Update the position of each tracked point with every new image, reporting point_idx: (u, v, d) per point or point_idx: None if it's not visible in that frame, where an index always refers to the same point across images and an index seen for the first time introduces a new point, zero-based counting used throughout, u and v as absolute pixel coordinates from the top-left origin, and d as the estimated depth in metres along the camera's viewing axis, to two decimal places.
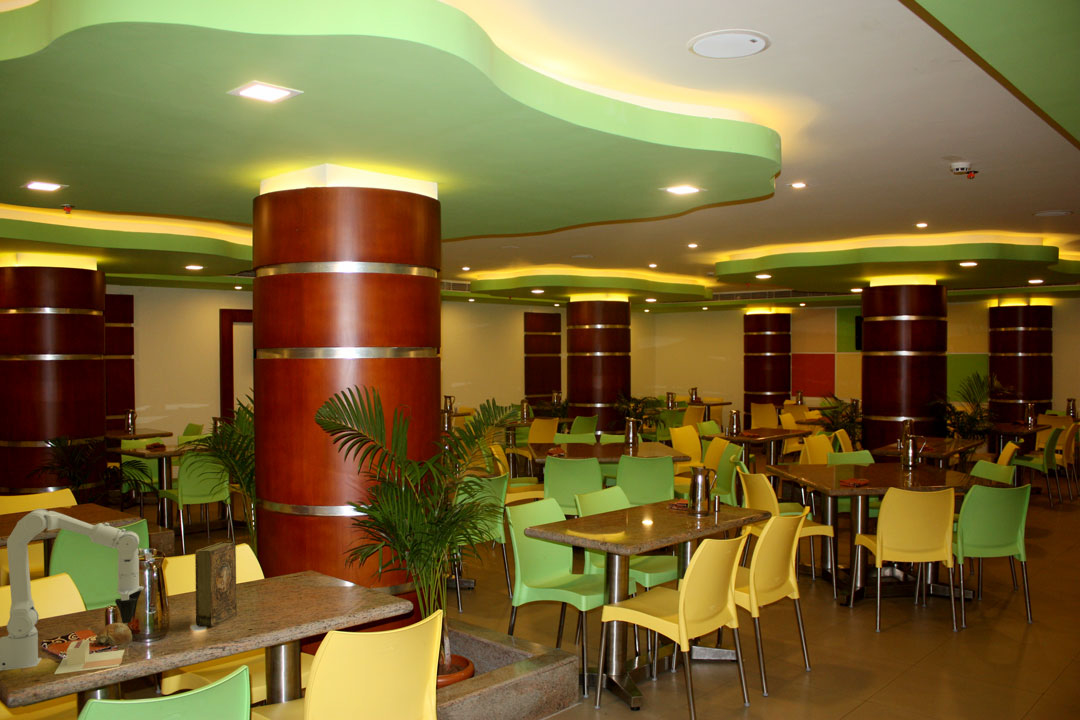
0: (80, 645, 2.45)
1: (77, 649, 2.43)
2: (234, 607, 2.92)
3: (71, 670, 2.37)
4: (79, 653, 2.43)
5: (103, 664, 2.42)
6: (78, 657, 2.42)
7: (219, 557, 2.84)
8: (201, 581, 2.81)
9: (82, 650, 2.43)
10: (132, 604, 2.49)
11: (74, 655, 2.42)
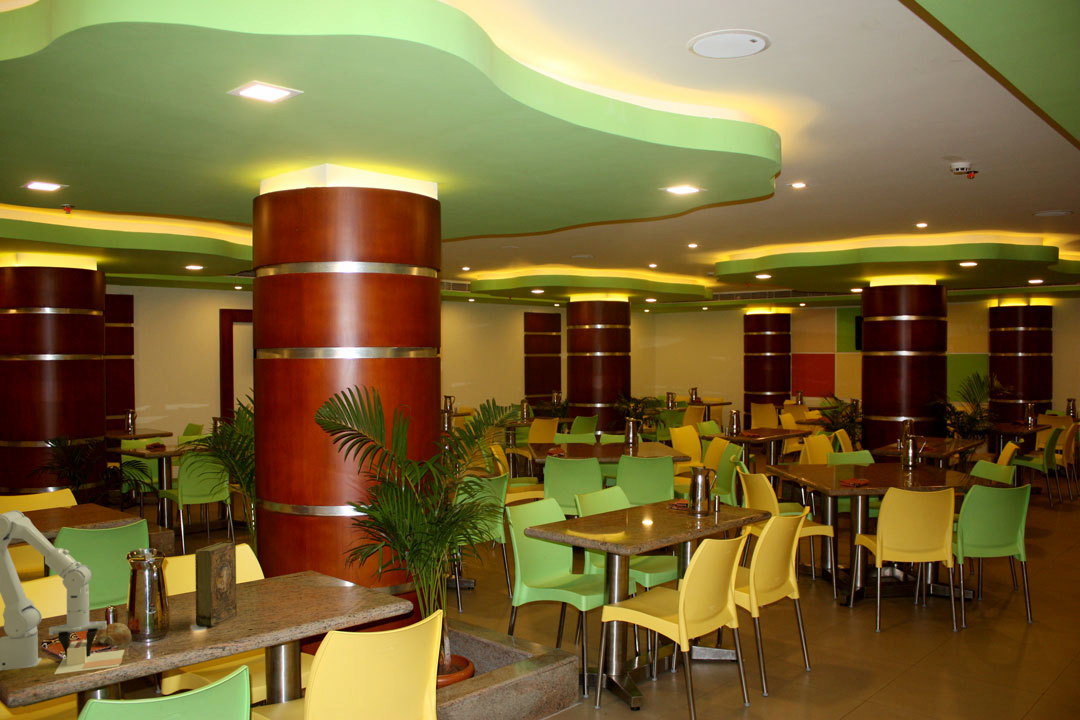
0: (80, 645, 2.45)
1: (77, 649, 2.43)
2: (234, 607, 2.92)
3: (71, 670, 2.37)
4: (79, 653, 2.43)
5: (103, 664, 2.42)
6: (78, 657, 2.42)
7: (219, 557, 2.84)
8: (201, 581, 2.81)
9: (82, 650, 2.43)
10: None
11: (74, 655, 2.42)
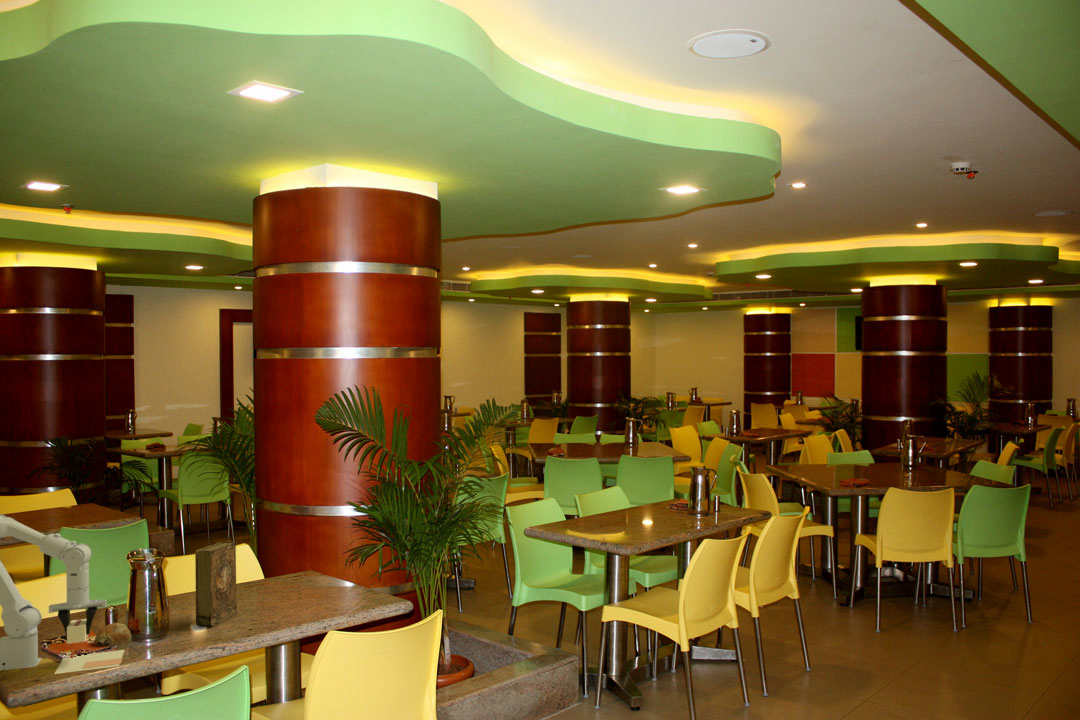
0: (80, 623, 2.45)
1: (77, 627, 2.43)
2: (234, 607, 2.92)
3: (71, 670, 2.37)
4: (79, 631, 2.43)
5: (103, 664, 2.42)
6: (78, 635, 2.43)
7: (219, 557, 2.84)
8: (201, 581, 2.81)
9: (82, 628, 2.43)
10: None
11: (74, 633, 2.42)
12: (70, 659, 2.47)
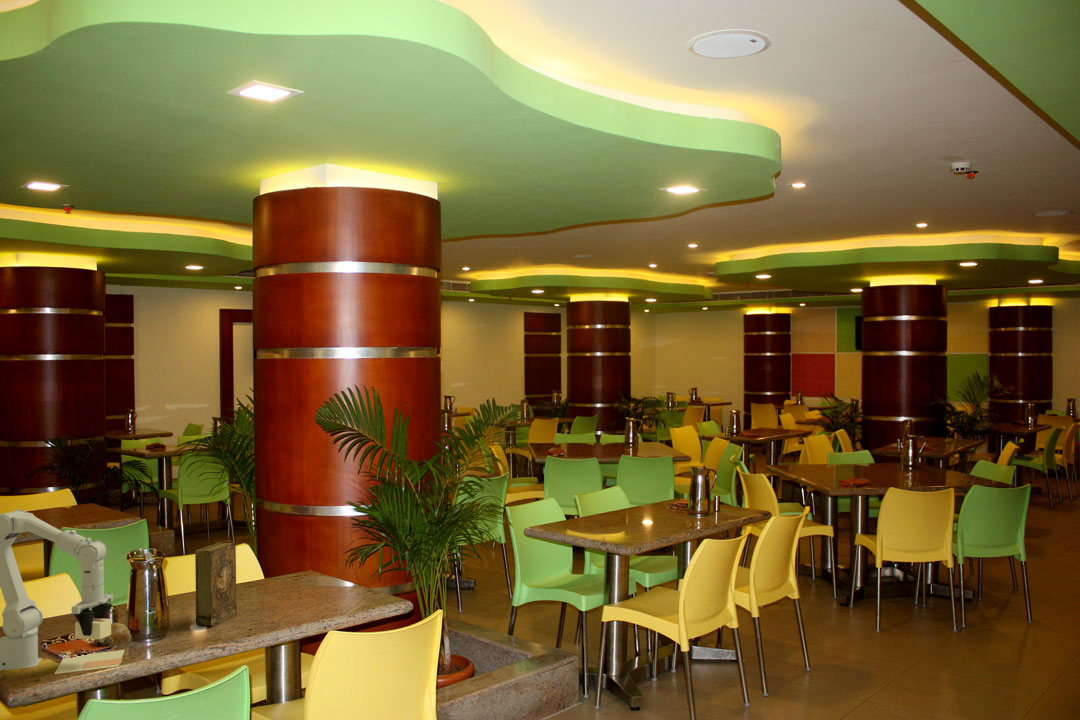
0: (98, 619, 2.45)
1: (106, 621, 2.44)
2: (234, 607, 2.92)
3: (71, 670, 2.37)
4: (107, 625, 2.44)
5: (103, 664, 2.42)
6: (107, 629, 2.44)
7: (219, 557, 2.84)
8: (201, 581, 2.81)
9: (109, 621, 2.45)
10: (87, 617, 2.40)
11: (104, 628, 2.43)
12: (70, 659, 2.47)
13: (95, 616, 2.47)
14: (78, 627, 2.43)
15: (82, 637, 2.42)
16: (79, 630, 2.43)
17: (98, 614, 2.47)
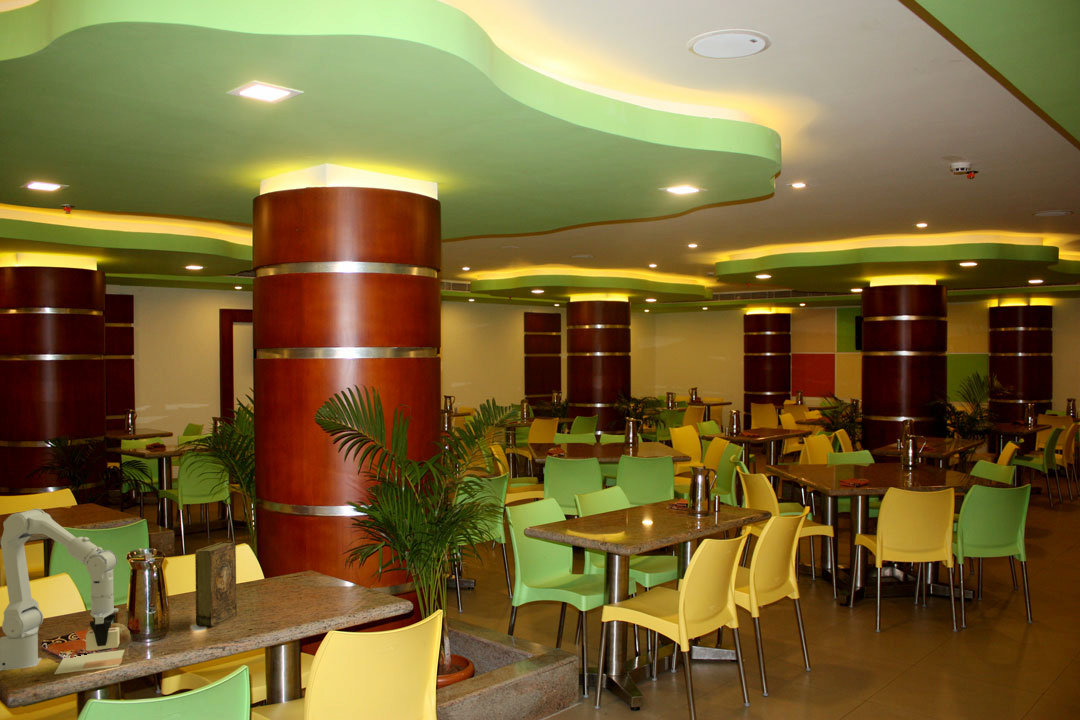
0: None
1: (118, 629, 2.45)
2: (234, 607, 2.92)
3: (71, 670, 2.37)
4: (118, 633, 2.45)
5: (103, 664, 2.42)
6: (118, 637, 2.45)
7: (219, 557, 2.84)
8: (201, 581, 2.81)
9: None
10: (107, 626, 2.40)
11: (118, 636, 2.44)
12: (70, 659, 2.47)
13: None
14: (89, 639, 2.40)
15: (95, 648, 2.40)
16: (91, 642, 2.40)
17: None
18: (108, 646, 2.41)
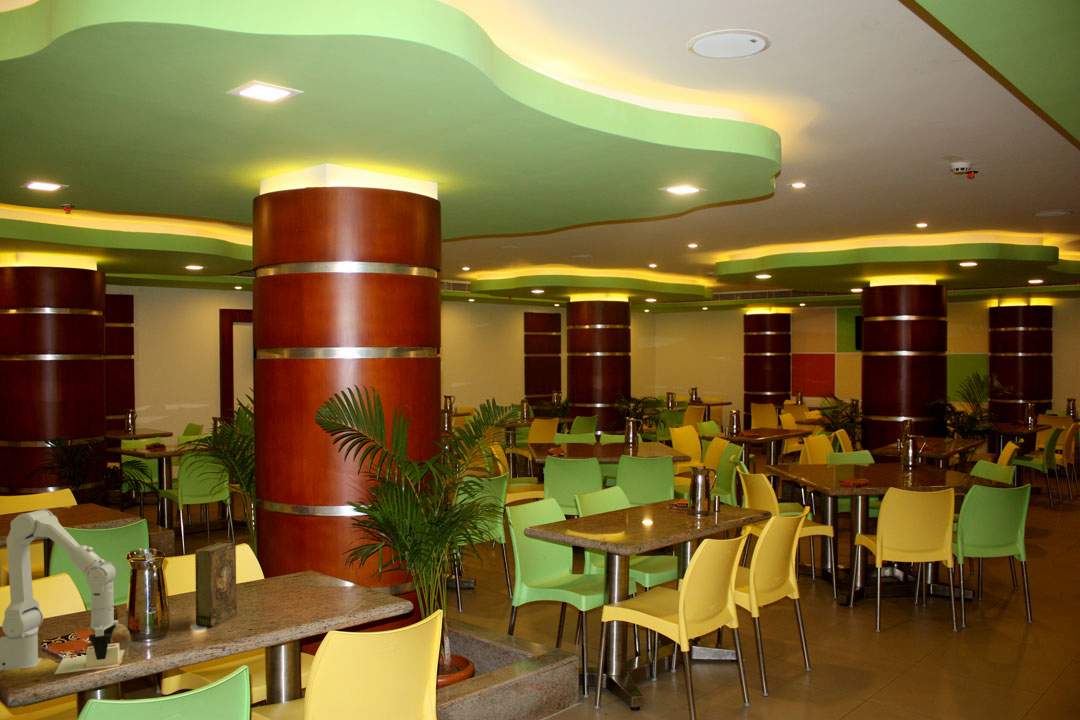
0: (108, 645, 2.44)
1: (118, 645, 2.45)
2: (234, 607, 2.92)
3: (71, 670, 2.37)
4: (118, 649, 2.45)
5: None
6: (118, 653, 2.45)
7: (219, 557, 2.84)
8: (201, 581, 2.81)
9: None
10: (107, 640, 2.38)
11: (118, 652, 2.44)
12: (70, 659, 2.47)
13: None
14: (89, 655, 2.40)
15: (95, 664, 2.40)
16: (91, 658, 2.40)
17: None
18: (108, 662, 2.41)
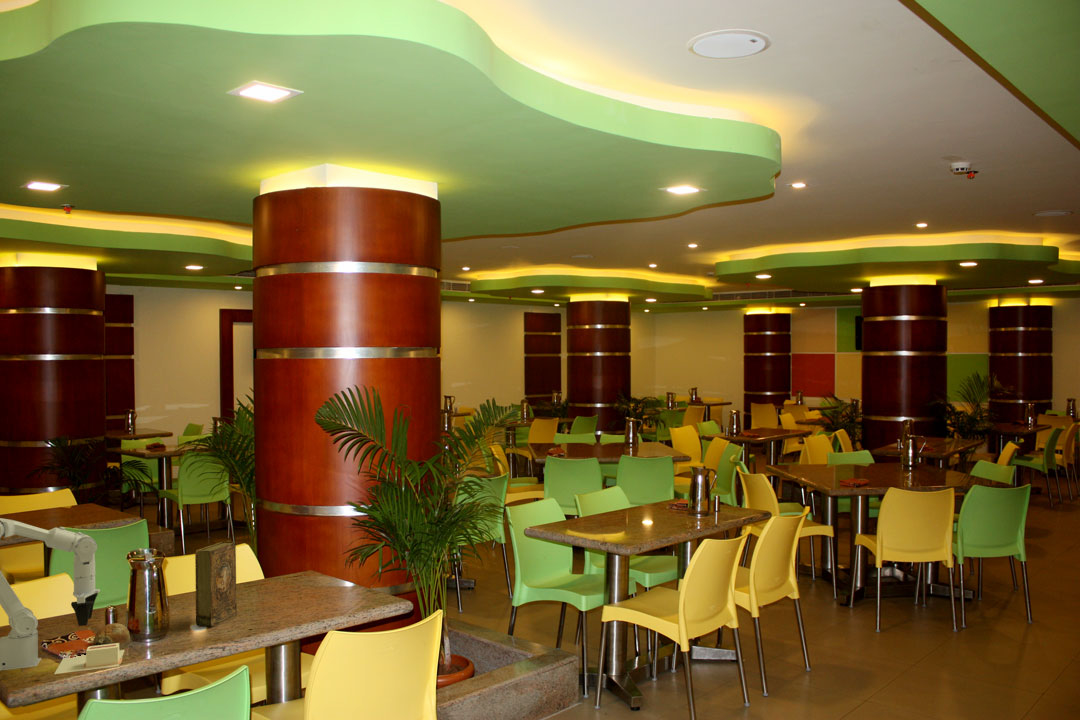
0: (108, 645, 2.44)
1: (118, 645, 2.45)
2: (234, 607, 2.92)
3: (71, 670, 2.37)
4: (118, 649, 2.45)
5: None
6: (118, 653, 2.45)
7: (219, 557, 2.84)
8: (201, 581, 2.81)
9: None
10: (88, 607, 2.50)
11: (118, 652, 2.44)
12: (70, 659, 2.47)
13: None
14: (89, 655, 2.40)
15: (95, 664, 2.40)
16: (91, 658, 2.40)
17: None
18: (108, 662, 2.41)
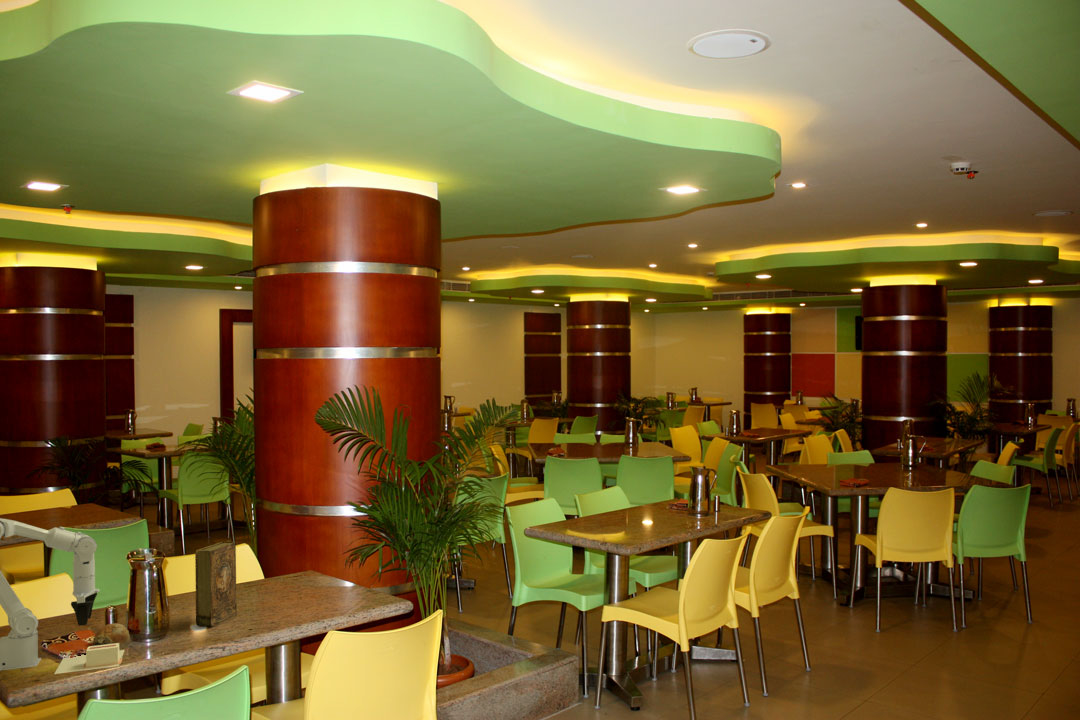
0: (108, 645, 2.44)
1: (118, 645, 2.45)
2: (234, 607, 2.92)
3: (71, 670, 2.37)
4: (118, 649, 2.45)
5: None
6: (118, 653, 2.45)
7: (219, 557, 2.84)
8: (201, 581, 2.81)
9: None
10: (88, 606, 2.50)
11: (118, 652, 2.44)
12: (70, 659, 2.47)
13: None
14: (89, 655, 2.40)
15: (95, 664, 2.40)
16: (91, 658, 2.40)
17: None
18: (108, 662, 2.41)
